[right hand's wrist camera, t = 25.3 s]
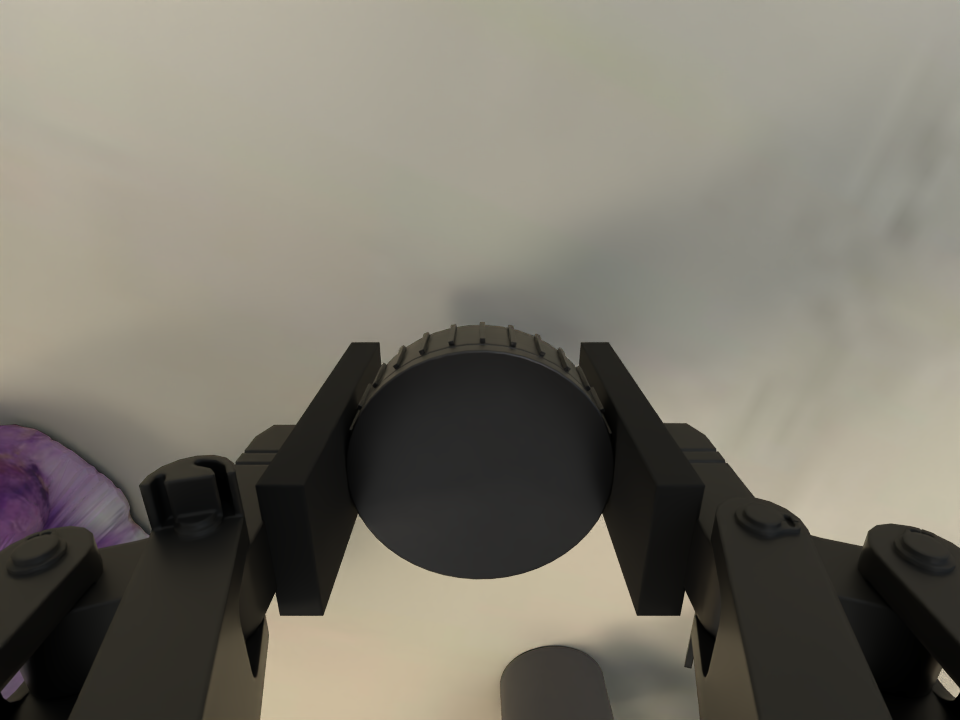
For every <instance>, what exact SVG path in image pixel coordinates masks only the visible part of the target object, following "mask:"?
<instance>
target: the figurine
mask: <svg viewBox="0 0 960 720" xmlns="http://www.w3.org/2000/svg"><path fill="white" fill-rule="evenodd" d="M129 510H130V506H129V502H128V500H127V499H126V497H125V496H124V494H123V492H122V491H121V489H120V488H116V486H115V485H114V484H113V482H112V481H111V480H110V479H108V478H107V477H106V476H105V475H104V474H102V473H99V472H98V471H97V470H96V468H95V467H94V466H92V465H90V464H89V463H87V462H86V461H85V460H83V459H82V458H81V457H80V456H78V455H77V454H76V453H74V452H73V451H72V450H70V449H68V448H66V447H64V446H63V445H62V444H60V443H59V442H57V441H54V440H52V439H51V438H50V437H49V436H48V435H46V434H44V433H42V432H40V431H38V430H37V429H33V428H27V427H22V426H19V425H16V424H12V425H2V426H0V551H2V550H3V549H5V548H6V547H7V546H9V545H11V544H13V543H15V542H17V541H19V540H21V539H23V538H25V537H26V536H28V535H31V534H33V533H36V532H41V531H42V530H47V529H51V528H58V527H65V526H76V527H85V528H86V529H87V530H89V531H90V532H92V533H93V535H94V538H95V541H96V544H97V547H98V549H99V548H104V547H108V546H113V545H118V544H123V543H128V542H133V541H137V540H141V539H145V538H149V535H148V534H147V533H145V532H144V530H143V529H142V528H141V527H140V526H139V525H137V524H136V523H135V522H134V521H133V519H132V518H131V515H130V512H129ZM23 681H24V679H23V677H22V675H21V672H20V670H19V671H18V672H17V673H16V675H15V676H14V677H13V678H12V679H11V681H10V682H9V683H8V684H7V685H6V686H5V688H4V689H3V690H2V691H1V694H2V696H3V698H4V699H7V698H8V697H10V696H11V695H12V694H13V693H14V692H15V691H16V690H17V689H18V687H19V686H20V685H21V684H22V683H23Z"/></svg>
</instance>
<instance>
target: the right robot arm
mask: <svg viewBox="0 0 960 720" xmlns="http://www.w3.org/2000/svg"><path fill="white" fill-rule="evenodd" d="M579 366H580V367H581V368H582V370H583V372H584V374H585V377H586V379H587V381H588V383H589V385H590V387H594V389H595V392H596V394H597V396H598V398H599V400H600V402H601V404H602V406H603V408H604V410H605V413H603V415H604V417H605V419H606V421H607V423H608V425H609V427H610V430H611V432H612V437H611V439H612V443H613V448H614V457H615V468H614V477H613V485H612V489H611V494H610V496H609V499H608V501H607V504H606V506H605V509H604V511H603V512H602V514H603V517H604V520H605V522H606V525H607V528H608V531H609V534H610V537H611V540H612V543H613V546H614V549H615V552H616V555H617V558H618V561H619V564H620V567H621V570H622V573H623V576H624V579H625V582H626V585H627V587H628V590H629V593H630V596H631V599H632V602H633V605H634V608H635V611H636V614H637V616H680V614H681V609H682V604H683V599H684V593H685V591H686V593H687V595H688V597H689V599H690V601H691V604H692V606H693V608H694V610H695V616H694V621H693V625H692V630H691V635H690V640H689V645H688V650H687V654H686V660H685V666H684V667H687V668H692V663H693V659H694V666H695V676H696V685H697V695H698V704H699V713H700V720H960V693H959V695H958V696H957V697H956V698H955V697H953V696H952V695H951V694H950V693H949V692H948V691H947V690H946V689H945V688H944V686H943V685H942V684H941V683H940V681H939V680H938V679H937V678H938V676H939V674H940V671H941V669H942V668H943V669H944V670H945V671H946V673H947V674H948V675H949V676H950V677H951V678H952V680H953V681H954V682H955V683H956V684H957V685H958V687H959V688H960V548H959V547H957V546H956V545H955V544H953V543H951V542H949V541H947V540H945V539H943V538H941V537H939V536H937V535H935V534H934V533H932V532H929V531H926V530H923V529H922V530H921V529H920V528H916V527H912V526H905V525H898V524H883V525H876V526H875V527H873V528H872V529H871V530H869V531H868V534H867V537H866V540H865V543H864V545H863V546H858V545H853V544H848V543H843V542H839V541H834V540H829V539H824V538H820V537H816V536H812V535H810V533H809V531H808V529H807V528H806V526H805V525H804V524H803V522H802V521H801V520H800V519H799V518H798V517H797V516H795V515H794V514H793V513H791V512H790V511H789V510H787V509H785V508H783V507H781V506H779V505H777V504H774V503H772V502H770V501H766V500H762V499H758V498H755V497H754V496H753V495H752V493H751V492H750V491H749V490H748V488H747V487H746V486H745V485H744V483H743V482H742V481H741V480H740V478H739V477H738V476H737V475H736V473H735V472H734V471H733V469H732V468H731V467H730V466H729V464H728V463H725V459H724V458H723V457H722V456H721V454H720V453H719V452H716V448H715V447H714V446H713V444H712V443H711V442H710V441H709V439H708V438H707V437H706V436H705V435H704V434H703V433H701V432H699V431H698V430H696V429H695V428H693V427H691V426H690V425H688V424H687V423H663V422H662V421H661V419H660V418H659V416H658V415H657V413H656V412H655V410H654V409H653V407H652V406H651V404H650V403H649V401H648V400H647V399H646V397H645V396H644V394H643V393H642V391H641V390H640V388H639V387H638V385H637V384H636V382H635V381H634V379H633V378H632V376H631V375H630V373H629V372H628V370H627V369H626V367H625V366H624V364H623V363H622V362H621V360H620V359H619V357H618V356H617V354H616V353H615V351H614V350H613V348H612V347H611V345H610V344H609V342H581V348H580V361H579ZM380 367H381V356H380V343H379V342H352V343H351V344H350V346H349V347H348V349H347V350H346V352H345V353H344V355H343V356H342V358H341V359H340V361H339V362H338V363H337V365H336V366H335V368H334V369H333V371H332V372H331V374H330V375H329V377H328V378H327V380H326V381H325V383H324V384H323V386H322V387H321V389H320V390H319V392H318V393H317V395H316V396H315V398H314V399H313V400H312V402H311V403H310V405H309V406H308V408H307V409H306V411H305V412H304V414H303V415H302V417H301V418H300V420H299V421H298V423H297V424H296V425H273V426H272V427H270V428H269V429H267V430H265V431H264V432H262V433H261V434H259V435H258V436H256V437H255V438H254V439H253V441H252V442H251V443H250V444H249V446H248V447H247V448H246V449H245V453H242V455H241V456H240V457H239V458H238V460H237V461H236V464H235V465H234V463H233V462H232V461H230V460H229V459H228V458H226V457H221V456H216V455H203V456H194V457H189V458H185V459H180V460H177V461H175V462H172V463H170V464H167V465H165V466H162V467H161V468H159V469H158V470H156V471H154V472H153V473H151V474H150V475H148V476H147V477H146V478H145V479H144V481H143V482H142V483H141V484H140V485H139V487H140V491H141V494H142V497H143V501H144V504H145V508H146V511H147V515H148V518H149V521H150V525H151V528H152V532H151V534H150V536H149V538H145V539H141V540H137V541H133V542H128V543H123V544H118V545H113V546H108V547H104V548H99V549H98V547H97V544H96V541H95V538H94V535H93V533H92V532H90V531H89V530H87V529H86V528H85V527H76V526H65V527H58V528H51V529H47V530H42V531H41V532H36V533H33V534H31V535H28V536H26V537H25V538H23V539H21V540H19V541H17V542H15V543H13V544H11V545H9V546H7V547H6V548H5V549H3V550H2V551H0V720H260V715H261V706H262V696H263V687H264V677H265V668H266V658H267V649H268V639H269V632H268V626H267V621H266V616H265V613H266V611H267V609H268V607H269V605H270V603H271V601H272V598H273V596H274V594H275V592H276V597H277V602H278V607H279V612H280V616H323V615H324V612H325V609H326V606H327V603H328V600H329V597H330V594H331V591H332V588H333V585H334V583H335V580H336V577H337V574H338V571H339V568H340V565H341V562H342V559H343V556H344V553H345V550H346V547H347V544H348V541H349V538H350V535H351V532H352V529H353V526H354V523H355V520H356V518H357V515H358V512H357V510H356V507H355V505H354V503H353V501H352V498H351V495H350V491H349V488H348V482H347V473H346V451H347V445H348V440H349V437H350V434H349V433H348V432H349V428H350V426H351V424H352V422H353V420H354V418H355V416H356V414H357V412H358V409H357V407H358V405H359V403H360V401H361V398H362V396H363V394H364V392H365V390H366V388H367V386H368V384H371V385H372V384H373V382H374V380H375V378H376V375H377V373H378V371H379V369H380ZM19 670H20V672H21V675H22V677H23V679H24V681H23V683H22V684H21V685H20V686H19V687H18V689H17V690H16V691H15V692H14V693H13V694H12V695H11V696H10V697H8V698H7V699H4V698H3V696H2V694H1V691H2V690H3V689H4V688H5V686H6V685H7V684H8V683H9V682H10V681H11V679H12V678H13V677H14V676H15V675H16V673H17V672H18V671H19Z"/></svg>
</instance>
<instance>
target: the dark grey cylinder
mask: <svg viewBox="0 0 960 720" xmlns="http://www.w3.org/2000/svg"><path fill="white" fill-rule="evenodd" d="M500 694H501V715H502V720H614V718H613V714H612V710H611V706H610V702H609V698H608V694H607V690H606V686H605V681H604V677H603V673H602V671H601V668H600V667H599V665H598V664H597V662H596V661H595V660H594V659H593V658H591V657H590V656H589V655H587V654H585V653H583V652H581V651H579V650H576V649H572V648H568V647H559V646H551V647H542V648H537V649H534V650H531V651H528V652H526V653H524V654H522V655H520V656H518V657H517V658H515V659H514V660H513V661H512V662H511V663H510V664H509V665H508V666H507V667H506V669H505V670H504V672H503V674H502V677H501V681H500Z"/></svg>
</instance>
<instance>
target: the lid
mask: <svg viewBox="0 0 960 720" xmlns="http://www.w3.org/2000/svg"><path fill="white" fill-rule="evenodd" d="M357 409H358V412H357V414H356V416H355V418H354V420H353V422H352V424H351V426H350V428H349V432H348V433H349V434H350V437H349V440H348V445H347V451H346V473H347V482H348V488H349V491H350V495H351V498H352V501H353V503H354V505H355V507H356V510H357V512H358V514H359V515H360V517H361V518H362V520H363V522H364V523H365V525H366V526H367V527H368V529H369V530H370V531H371V532H372V533H373V534H374V536H375V537H376V538H377V539H378V540H379V541H380V542H382V543H383V544H384V545H385V546H386V547H387V548H388V549H390V550H391V551H393V552H394V553H395V554H397V555H398V556H400V557H401V558H403V559H405V560H407V561H408V562H410V563H412V564H414V565H416V566H419V567H421V568H424V569H426V570H428V571H432V572H435V573H439V574H442V575H446V576H452V577H457V578H466V579H495V578H503V577H509V576H514V575H518V574H523V573H526V572H529V571H531V570H534V569H537V568H540V567H542V566H544V565H546V564H548V563H550V562H552V561H554V560H556V559H557V558H559V557H561V556H562V555H564V554H565V553H567V552H568V551H569V550H571V549H572V548H573V547H574V546H576V545H577V544H578V543H579V542H580V541H581V540H582V539H583V538H584V537H585V536H586V535H587V534H588V533H589V532H590V530H591V529H592V528H593V526H594V525H595V524H596V522H597V521H598V519H599V518H600V516H601V514H602V512H603V511H604V509H605V506H606V504H607V501H608V499H609V496H610V494H611V489H612V485H613V477H614V468H615V457H614V448H613V443H612V439H611V437H612V432H611V430H610V427H609V425H608V423H607V421H606V419H605V417H604V415H603V413H605V410H604V408H603V406H602V404H601V402H600V400H599V398H598V396H597V394H596V392H595V389H594V387H590V385H589V383H588V381H587V379H586V377H585V374H584V372H583V370H582V368H581V367H580V366H578V367H575V366H574V364H573V363H572V362H571V361H570V360H569V359H567V358H566V356H565V353H564V351H563V350H562V349H561V348H559V349H558V350H557V349H555V348H554V347H552V346H551V345H550V344H548V343H546V342H544V341H542V340H541V337H540V335H538V334H535V336H532V335H530V334H527V333H524V332H521V331H519V330H514V326H511V325H508V328H506V327H500V326H490V325H485V322H480V325H468V326H461V327H456V324H454V325H451V328H450V329H446V330H443V331H439V332H436V333H433V334H431V335H430V334H429V332H427V333H425V334H424V335H423V338H421V339H419V340H418V341H416V342H414V343H413V344H411V345H409V346H408V347H405V346H404V345H403V346H402V347H401V348H400V350H399V352H398V354H397V355H396V356H395V357H394V358H393V359H392V360H391V361H390V362H389V363H388V364H387V365H386V364H385V363H383V364H382V365H381V367H380V369H379V371H378V373H377V375H376V378H375V380H374V382H373V384H372V385H371V384H368V386H367V388H366V390H365V392H364V394H363V396H362V398H361V401H360V403H359V405H358V407H357Z"/></svg>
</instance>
